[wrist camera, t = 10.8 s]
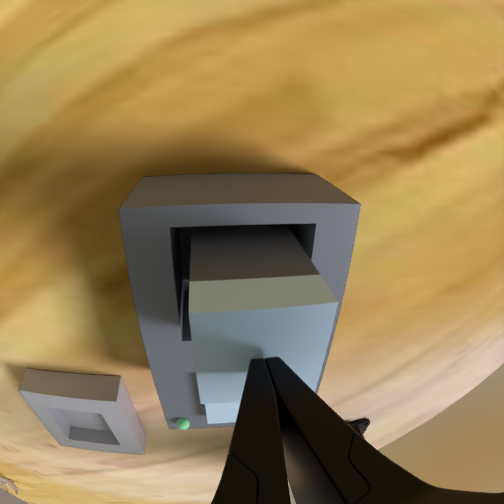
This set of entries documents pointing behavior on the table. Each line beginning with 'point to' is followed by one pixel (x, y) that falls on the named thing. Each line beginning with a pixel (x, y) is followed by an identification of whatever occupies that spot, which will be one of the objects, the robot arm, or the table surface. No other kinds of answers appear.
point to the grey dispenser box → (179, 251)
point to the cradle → (85, 410)
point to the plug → (254, 306)
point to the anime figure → (3, 481)
